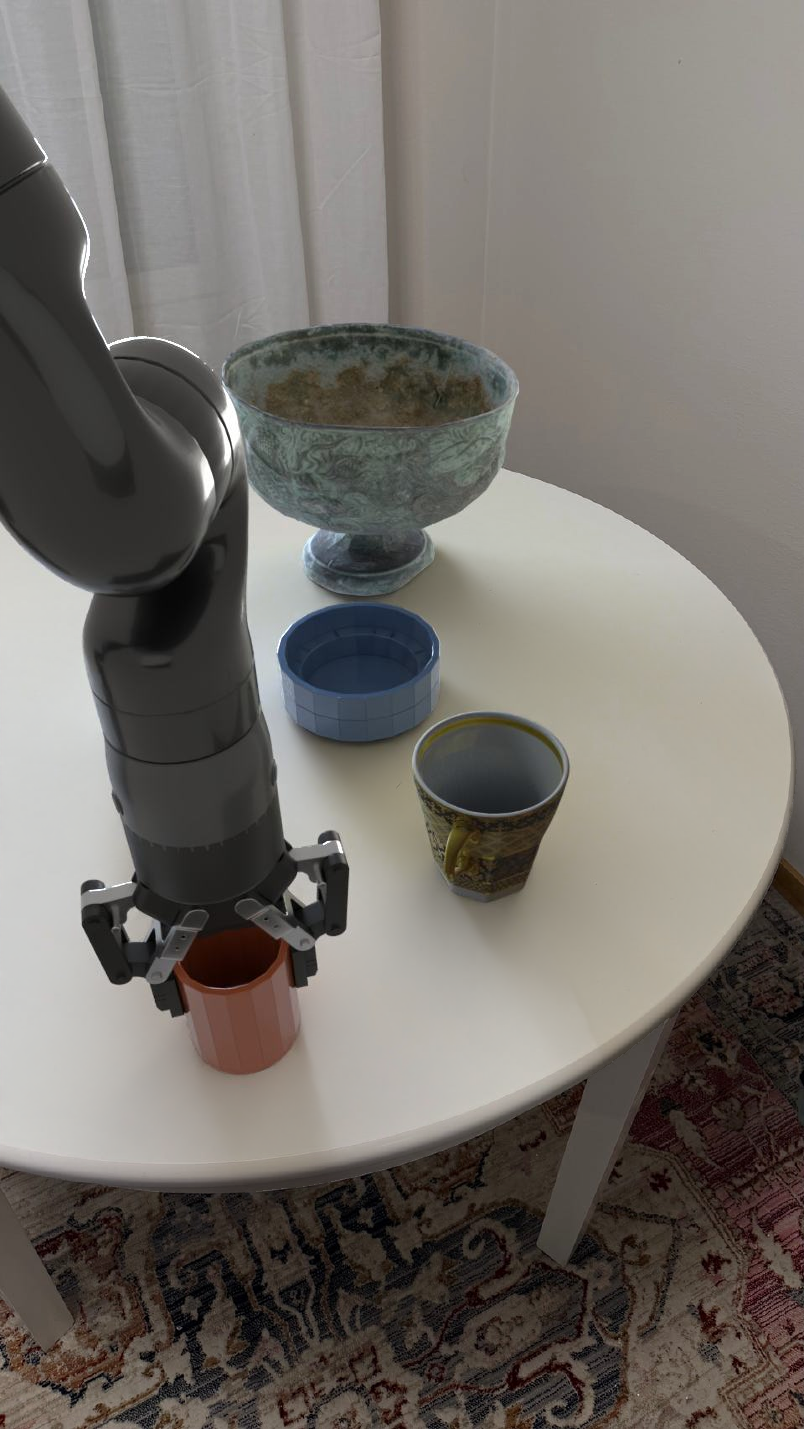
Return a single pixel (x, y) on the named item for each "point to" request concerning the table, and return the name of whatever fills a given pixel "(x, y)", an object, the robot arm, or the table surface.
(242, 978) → the cup
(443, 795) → the ceramic cup
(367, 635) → the bowl
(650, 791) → the table surface
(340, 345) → the decorative bowl
